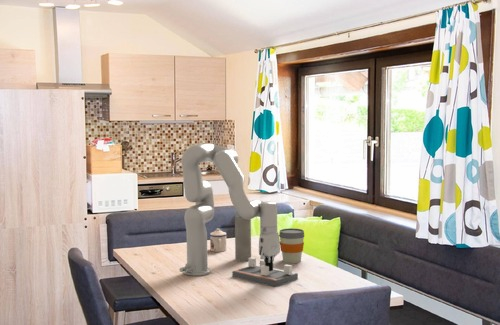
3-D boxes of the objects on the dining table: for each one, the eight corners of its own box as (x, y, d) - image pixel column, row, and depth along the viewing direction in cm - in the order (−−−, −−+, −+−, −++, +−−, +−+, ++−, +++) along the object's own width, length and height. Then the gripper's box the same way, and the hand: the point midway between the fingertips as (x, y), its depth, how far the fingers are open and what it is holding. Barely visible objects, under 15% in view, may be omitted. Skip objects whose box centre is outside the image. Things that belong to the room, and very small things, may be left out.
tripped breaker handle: (266, 275, 278) (266, 267, 277) (260, 274, 280) (260, 266, 279) (268, 274, 279) (268, 266, 279) (263, 273, 281) (263, 265, 281)
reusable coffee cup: (289, 256, 325) (288, 227, 324) (309, 259, 317) (309, 230, 316) (274, 261, 316) (274, 231, 314) (294, 264, 308) (294, 234, 306)
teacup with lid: (209, 248, 344) (208, 227, 343) (225, 247, 345) (225, 226, 344) (211, 253, 332) (211, 231, 331) (228, 252, 333) (228, 231, 332)
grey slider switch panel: (275, 286, 271) (275, 271, 270) (232, 276, 287) (232, 262, 287) (297, 278, 283) (297, 264, 282) (255, 269, 299) (255, 255, 299)
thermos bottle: (236, 257, 323) (235, 203, 321) (251, 257, 323) (251, 203, 320) (234, 261, 315) (233, 205, 313) (250, 261, 315) (249, 205, 312)
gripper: (264, 233, 272) (265, 275, 274) (285, 228, 283) (286, 268, 285) (251, 231, 277) (251, 272, 278) (272, 226, 288) (272, 265, 290)
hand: (269, 270), depth 282 cm, fingers closed
